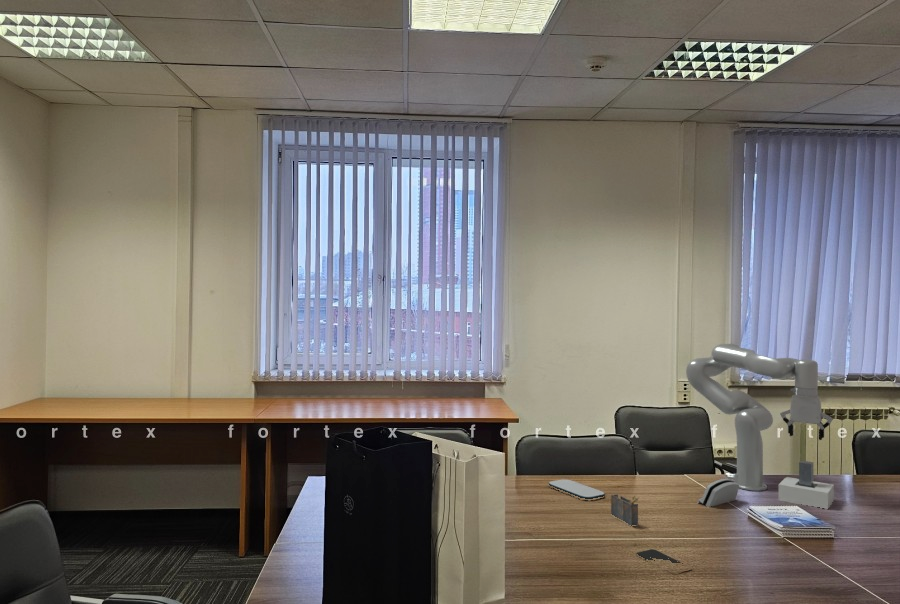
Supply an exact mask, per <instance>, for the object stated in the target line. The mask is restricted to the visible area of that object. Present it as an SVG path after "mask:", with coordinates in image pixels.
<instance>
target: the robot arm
mask: <svg viewBox="0 0 900 604" xmlns="http://www.w3.org/2000/svg"><path fill="white" fill-rule="evenodd" d="M818 365H819V364H818V362H817V361H815V360H813V359H797V358H792V357H780V358H774V357H770V356H766V355H765V356H764V355H761V354H758V353H756V351H755V350H754V349H750V348H745V347H744V348H743V347H740V346H739V345H737V344H734V343H722V344H721V343H720V344H717V345H715V346H714V347H713V348H712V350H711V356H710V357H698V358H695V359H692V360H690V361H689V362H688V363H687V366H686V369H685V370H686V371H685V372H686V378H687V381H688V382H689V384H690V385H691V387H692V388H694V390H696V392H698V393H699V394H700V395H702V396H703V397H704V398H705V399H707V401H709V402H710V403H711V404H712V405H713V406H715V407H716V408H717V409H718V410H719V411H720V412H722V413H723V414H726V415H729V416H730V415H735V417H734V428H735V433H736V473H735V472H734V473H732V472H731V473H730V472H725V477H726V479H730V480H732V481H734V482H735V483H737V484H738V485H739V489H742V490H747V491H753V492H754V491H755V492H758V491H759V492H760V491H762V492H763V491H766V490H767V489H768V486H767V484H766V483H764V467H763V466H764V461H763V460H764V459H763V458H764V448H763V447H764V443H763V437H762V435H761V431H765V430H768V429H769V428H771V427H772V425H773V422H774V418H773V415H772V413H771V411H769V410H768V409H767V407H765V406H764V405H763V404H762V403H760V402H759V401H758V400H756V399H755V398H754V397H752V396H751V395H750V394H748V393H747V392H744V391H741V390H729V389H728V388H726V387H724V385H722V384H721V383H720V382H718V381H717V380H715V379H713V378H712V377H716V376H718V375H720V374H722V373H724V372H725V371H727V370H729V369H730V368H732V367H734V368H738V369H741V370H747V371H748V372H751V373H752V374H753V373H754V374H757V375H760V376H765V377H768V378H775V379H782V378H783V379H784V378H794V387H793V388H792V387H791V388H790V392H791V393H794V394H793V395H791V399H790V408H789V409H788V410H785V411H782V412H780V417H781V419H782V420H783V421H784V423H786V426H787V434H789V437H793V436H794V423H802V424H803V423H804V424H813V425H817V427H818V428H819V429H818V440H819V441H822V440H823V439H824V438H825V429H826V428H827V427H829V426H830V425H831V423H832V422H833V419H834V418H833V417H831V416H830V415H827V414H826V413H825V412H822V403H821V402H822V401H821V397H820V396H818V395H819V393H818V391H819V390H818V387H819V376H818V374H819V373H818V370H819V369H818V368H819V366H818ZM787 415H789V418H788V417H787ZM823 419H825V420H826V422H825V423H823V422H822V421H823Z"/></svg>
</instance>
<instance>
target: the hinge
mask: <svg viewBox="0 0 900 604" xmlns="http://www.w3.org/2000/svg"><path fill="white" fill-rule="evenodd" d="M739 489H740V488H739V485H738V484H737V483H735V482H734V480H733V479H729V478H720V479H718V480H715V481H713V482H711V483H710V484H708V485H707V486H706V488H705V491H704V492H703V495H702V497H701V498H698V500H697V503H699V504H705V507H707V508H712V507H715V506H718V505H722V504H725V503H730V502H734V501H736V499H737V496H738V491H739ZM711 506H712V507H711Z"/></svg>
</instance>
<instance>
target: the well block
mask: <svg viewBox="0 0 900 604" xmlns="http://www.w3.org/2000/svg"><path fill="white" fill-rule="evenodd" d="M833 500H835V484H832V483H826V482H822V481H821V482H819V481H814V480H813V488H811V487H805V486H799V478H797V477H789V476H786V477H784V478H783V480H781V481H780V483H778V501H781V502H785V503H791V504H796V505H801V504H802V506H806V505H808V506H807V507H811V506H814V507H813V508H817V507H820V508H819V509H822V508H825V509H824V510H827V509H828V508H829V509H830V507H831V506H832V504H833V503H834V501H833ZM832 502H833V503H832ZM830 505H831V506H830Z"/></svg>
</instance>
